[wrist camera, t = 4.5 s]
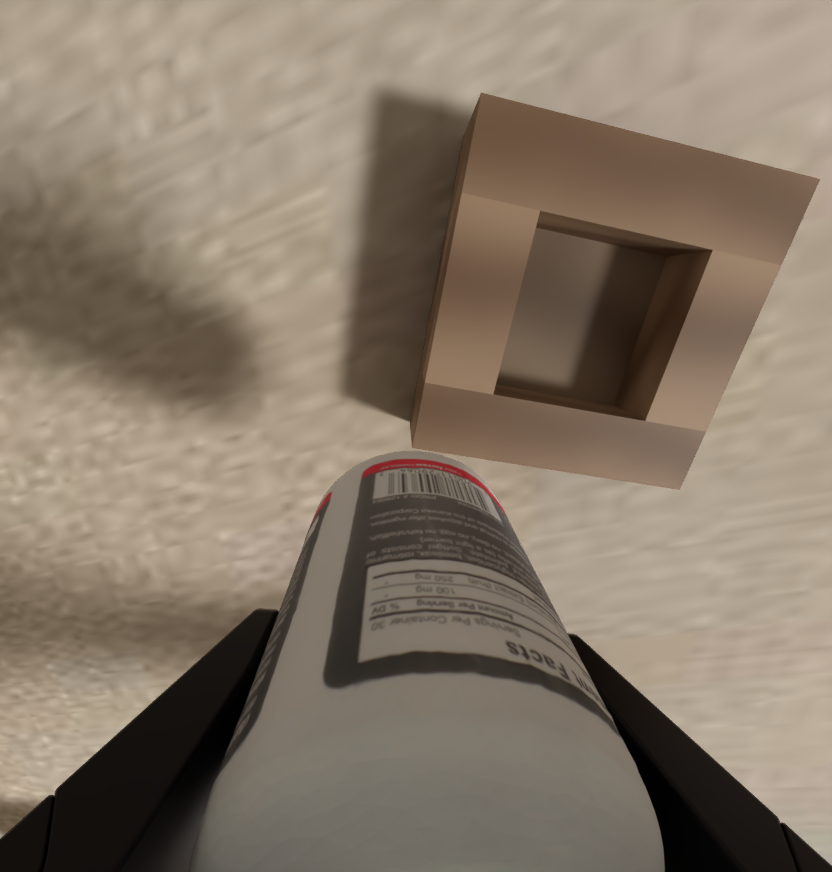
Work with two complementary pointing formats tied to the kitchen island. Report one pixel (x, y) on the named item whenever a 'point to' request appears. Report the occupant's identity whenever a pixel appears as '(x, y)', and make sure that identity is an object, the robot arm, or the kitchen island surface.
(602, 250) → the socket block
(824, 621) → the kitchen island surface
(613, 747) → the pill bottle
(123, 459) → the kitchen island surface
